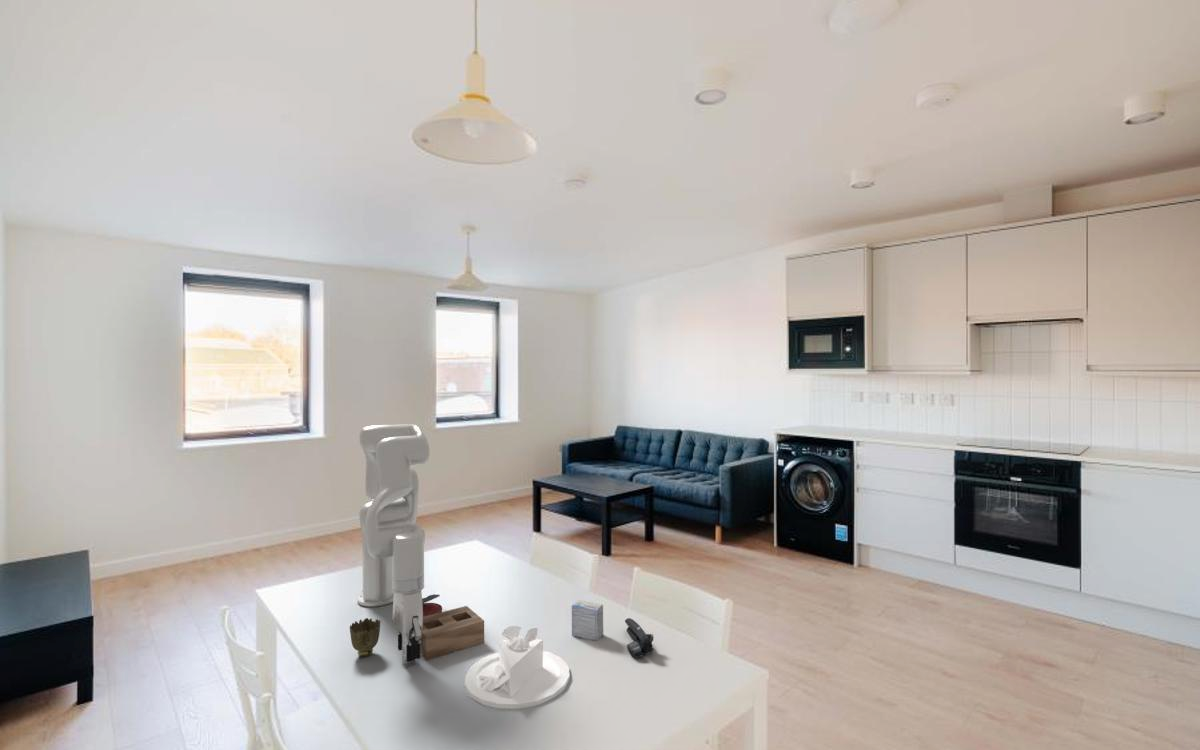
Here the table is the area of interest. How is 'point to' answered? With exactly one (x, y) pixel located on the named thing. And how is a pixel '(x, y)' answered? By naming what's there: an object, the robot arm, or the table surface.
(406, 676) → the table surface
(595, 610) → the medicine box
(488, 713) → the table surface
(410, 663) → the pin
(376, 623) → the cup
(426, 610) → the canned food
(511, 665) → the dish
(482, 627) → the hole block
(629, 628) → the can opener
